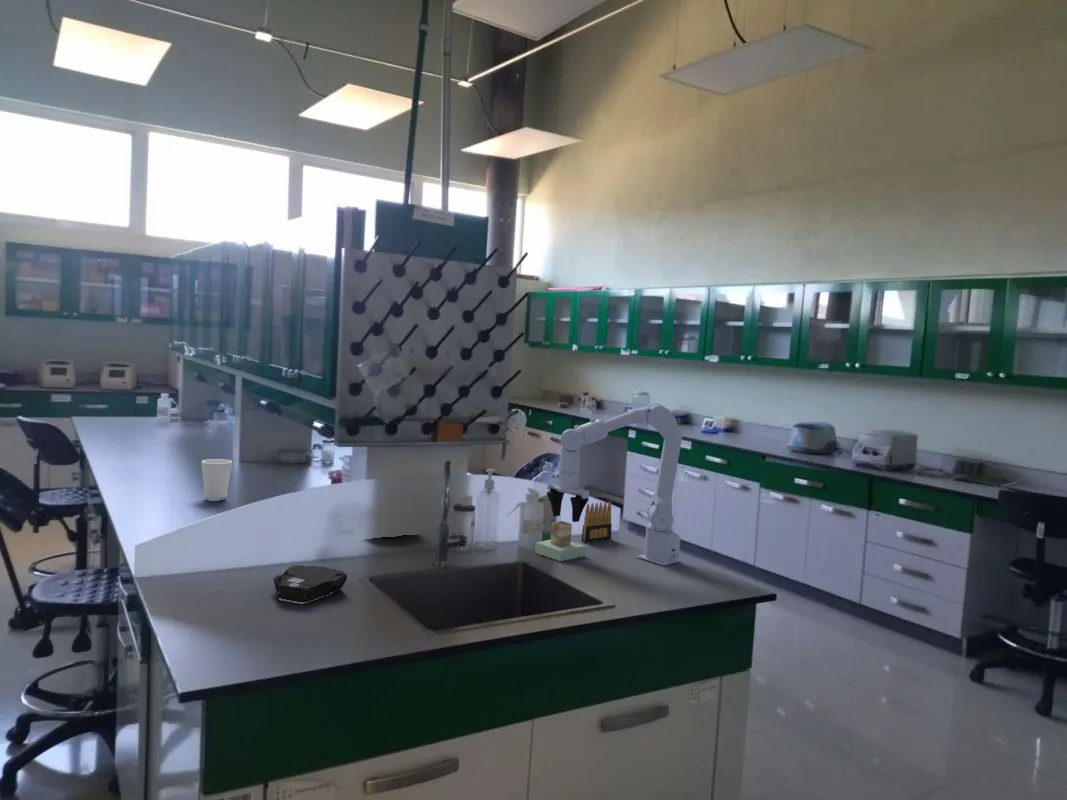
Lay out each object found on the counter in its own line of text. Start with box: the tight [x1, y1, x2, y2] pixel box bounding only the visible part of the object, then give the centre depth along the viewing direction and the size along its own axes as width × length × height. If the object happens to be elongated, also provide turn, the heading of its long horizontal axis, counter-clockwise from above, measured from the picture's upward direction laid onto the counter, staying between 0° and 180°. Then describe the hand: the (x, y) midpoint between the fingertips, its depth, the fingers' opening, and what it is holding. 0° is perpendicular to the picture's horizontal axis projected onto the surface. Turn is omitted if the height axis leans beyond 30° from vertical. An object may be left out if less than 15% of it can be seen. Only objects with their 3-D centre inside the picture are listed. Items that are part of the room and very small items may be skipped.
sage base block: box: [534, 539, 586, 562], centre depth 215 cm, size 10×10×3 cm
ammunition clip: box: [581, 500, 613, 544], centre depth 233 cm, size 11×2×12 cm, turn 127°
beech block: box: [550, 520, 573, 547], centre depth 215 cm, size 4×4×6 cm
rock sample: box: [273, 564, 348, 602], centre depth 171 cm, size 18×16×5 cm
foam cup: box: [200, 458, 233, 498], centre depth 255 cm, size 10×9×13 cm
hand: (565, 518), depth 217 cm, fingers open, 7 cm apart
